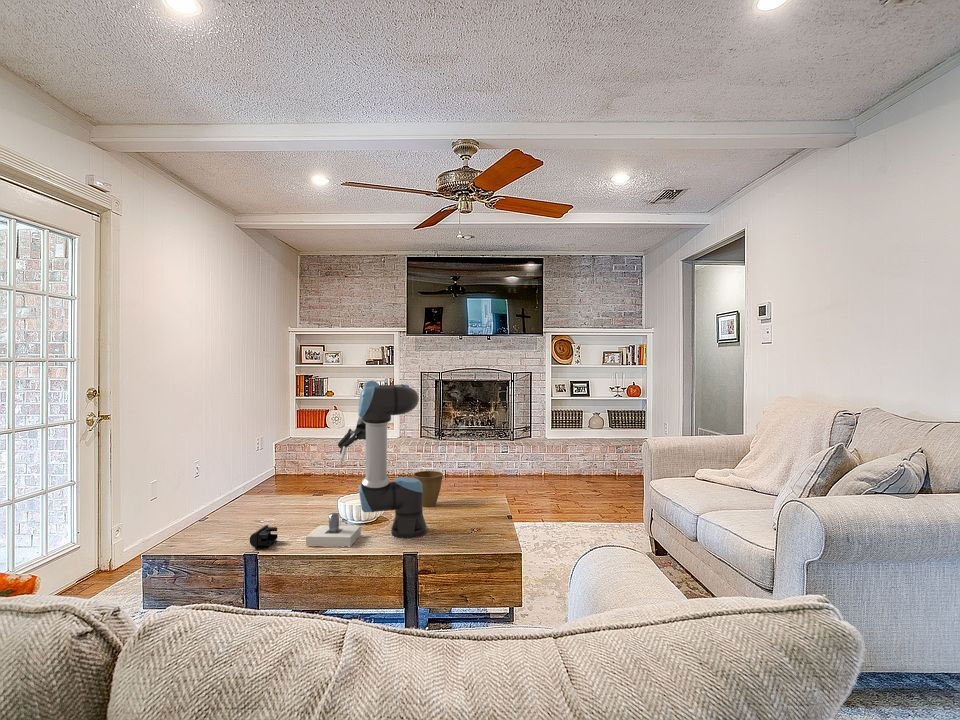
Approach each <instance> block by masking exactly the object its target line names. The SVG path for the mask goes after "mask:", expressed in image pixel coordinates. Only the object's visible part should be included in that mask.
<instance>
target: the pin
mask: <svg viewBox="0 0 960 720" xmlns="http://www.w3.org/2000/svg"><path fill="white" fill-rule="evenodd" d="M328 526H329V534H339V526H340V513H338V512H331V513H328Z"/></svg>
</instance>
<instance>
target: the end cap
mask: <svg viewBox="0 0 960 720" xmlns="http://www.w3.org/2000/svg"><path fill="white" fill-rule="evenodd" d="M272 532H278V527H277V526H272V527H271V526H269V524H266V525H264V526H262V527H261V528H259V529H258V530H256V531H255V532H253V533H252V534H251V535H250V536H249V544H250V545H251V546H252V547H253V548H254V549H255V550H269V547H270V548H271V547H272V546H273V545H275V544H276V543H277V542H278V540H277V539H278V533H277V534H276V533H272ZM274 543H275V544H274Z"/></svg>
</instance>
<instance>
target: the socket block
mask: <svg viewBox="0 0 960 720" xmlns="http://www.w3.org/2000/svg"><path fill="white" fill-rule="evenodd" d="M361 531H362V529H361V525H339V534H329V525H321V524H320V525H318V526H317V527H316V528H314V529H313V530H312V531H311V532H310V533H309V534H307V536H305V541H306V542H305V543H306V544H305V545H306V546H308V547H309V546H351V545H352V544H353V543H356V542H357V540H358V539H359V538H360V537H361V536H360V535H362V534H361V533H362V532H361ZM359 536H360V537H359ZM358 537H359V538H358ZM357 538H358V539H357ZM356 539H357V540H356ZM353 545H354V544H353ZM353 545H352V546H353ZM306 546H305V547H306ZM352 546H351V547H352ZM308 547H307V548H308ZM309 548H310V547H309Z"/></svg>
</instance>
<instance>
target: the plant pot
mask: <svg viewBox="0 0 960 720" xmlns="http://www.w3.org/2000/svg"><path fill="white" fill-rule="evenodd" d="M412 475H413V476H412V478H415V479H418V480H420V481H421V483H422V490H423V492H422V508H432V507H435V506H436V504H437V502H438V498H439V496H440V492H441V488H442V483H443V475H444V473H443V472H441V471H435V470H422V471H417V472H414V473H413V474H412Z"/></svg>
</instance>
